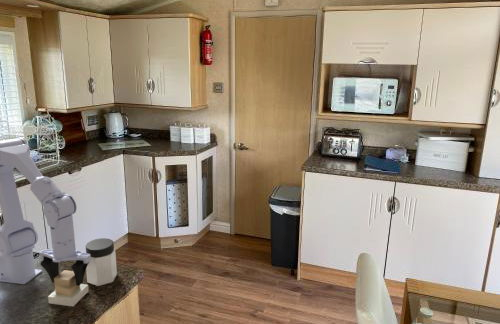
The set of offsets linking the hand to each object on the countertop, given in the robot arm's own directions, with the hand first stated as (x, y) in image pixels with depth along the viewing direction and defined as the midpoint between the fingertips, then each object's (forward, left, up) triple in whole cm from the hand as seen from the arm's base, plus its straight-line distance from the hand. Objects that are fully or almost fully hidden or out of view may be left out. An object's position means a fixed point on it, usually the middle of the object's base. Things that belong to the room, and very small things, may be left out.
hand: (67, 282), depth 107 cm
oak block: (0, 0, -2) cm, 3 cm away
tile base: (0, 0, -5) cm, 5 cm away
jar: (+4, +11, -5) cm, 13 cm away
